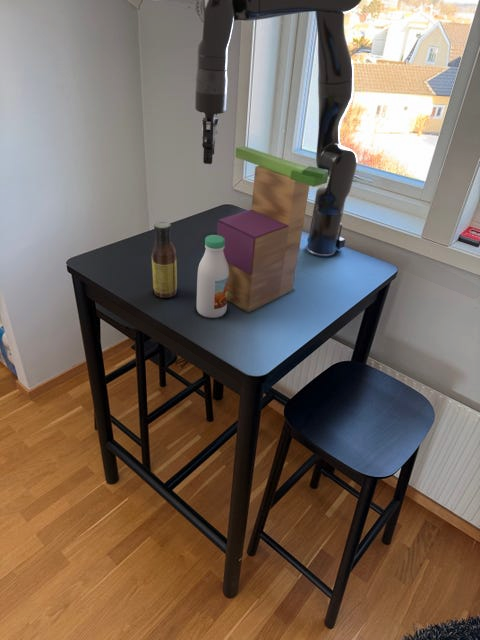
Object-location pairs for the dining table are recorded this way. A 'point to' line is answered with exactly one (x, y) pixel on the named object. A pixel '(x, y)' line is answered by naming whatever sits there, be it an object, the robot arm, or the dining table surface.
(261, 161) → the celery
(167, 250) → the sauce bottle
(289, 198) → the oak stand
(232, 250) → the towel
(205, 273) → the milk bottle
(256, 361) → the dining table surface
